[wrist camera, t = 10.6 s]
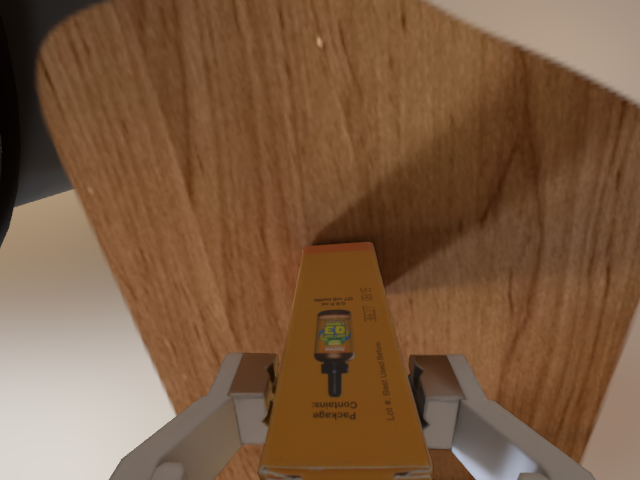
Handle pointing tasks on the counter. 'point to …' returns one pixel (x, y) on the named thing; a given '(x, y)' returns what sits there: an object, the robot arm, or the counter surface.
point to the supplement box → (343, 379)
